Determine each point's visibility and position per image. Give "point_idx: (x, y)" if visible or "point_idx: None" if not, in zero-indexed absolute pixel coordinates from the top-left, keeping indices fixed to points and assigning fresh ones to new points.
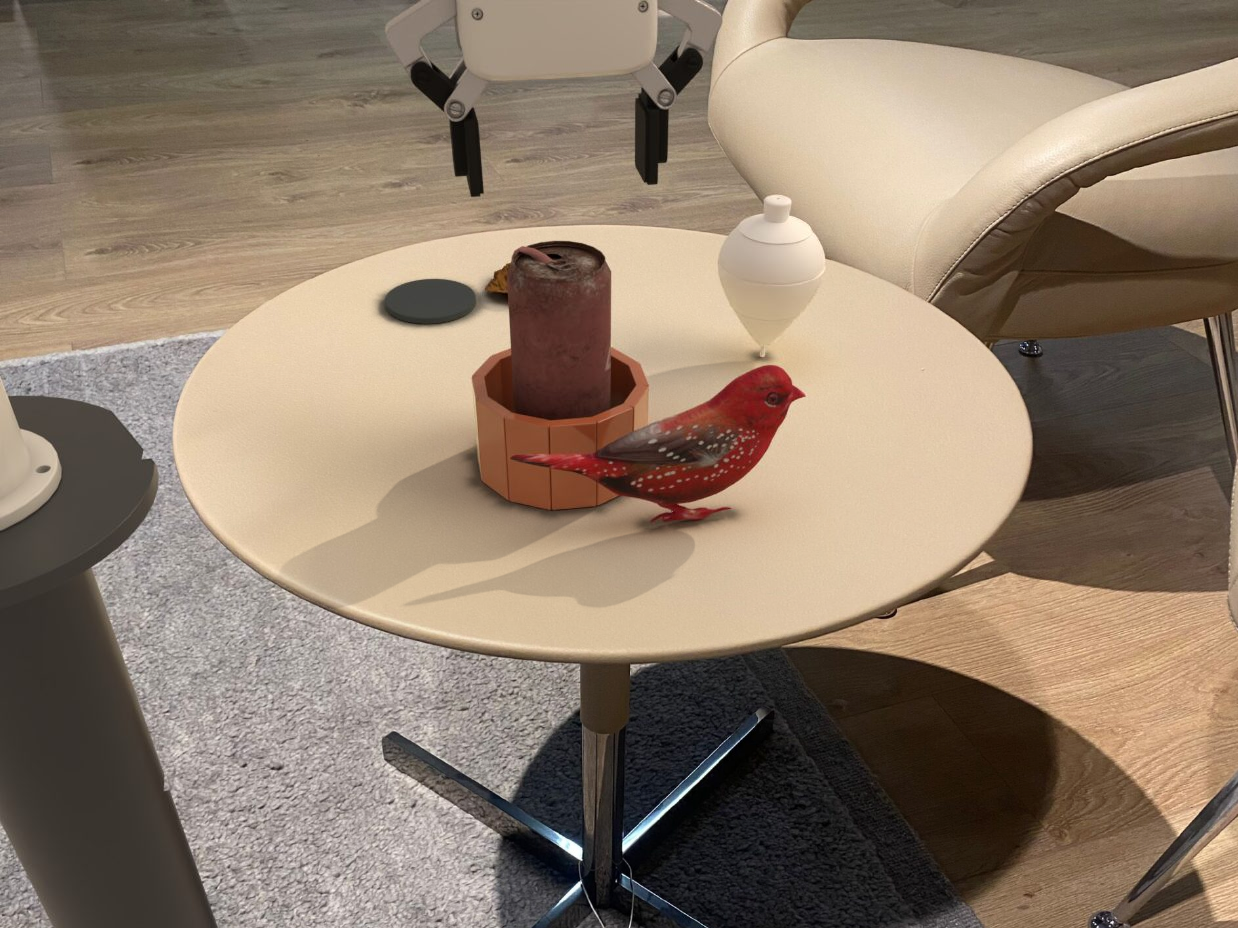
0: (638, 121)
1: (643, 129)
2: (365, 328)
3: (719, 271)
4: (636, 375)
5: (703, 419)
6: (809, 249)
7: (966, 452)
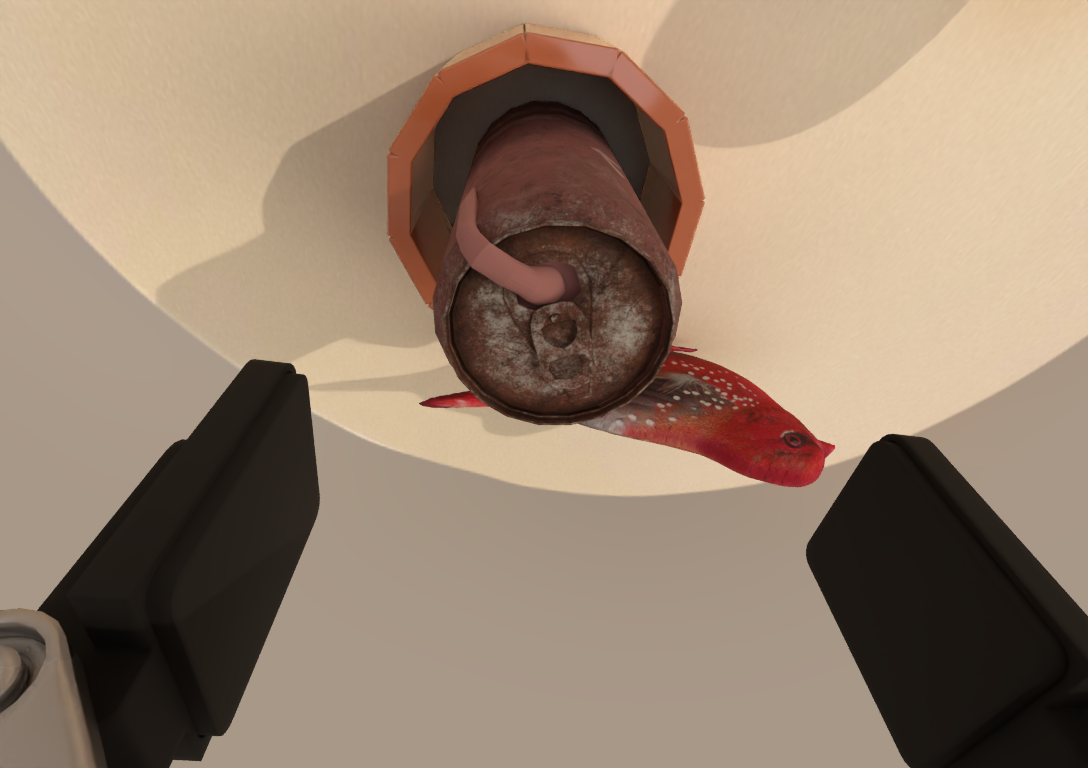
0: (949, 626)
1: (893, 685)
2: None
3: None
4: (677, 242)
5: (679, 448)
6: None
7: (1041, 312)
